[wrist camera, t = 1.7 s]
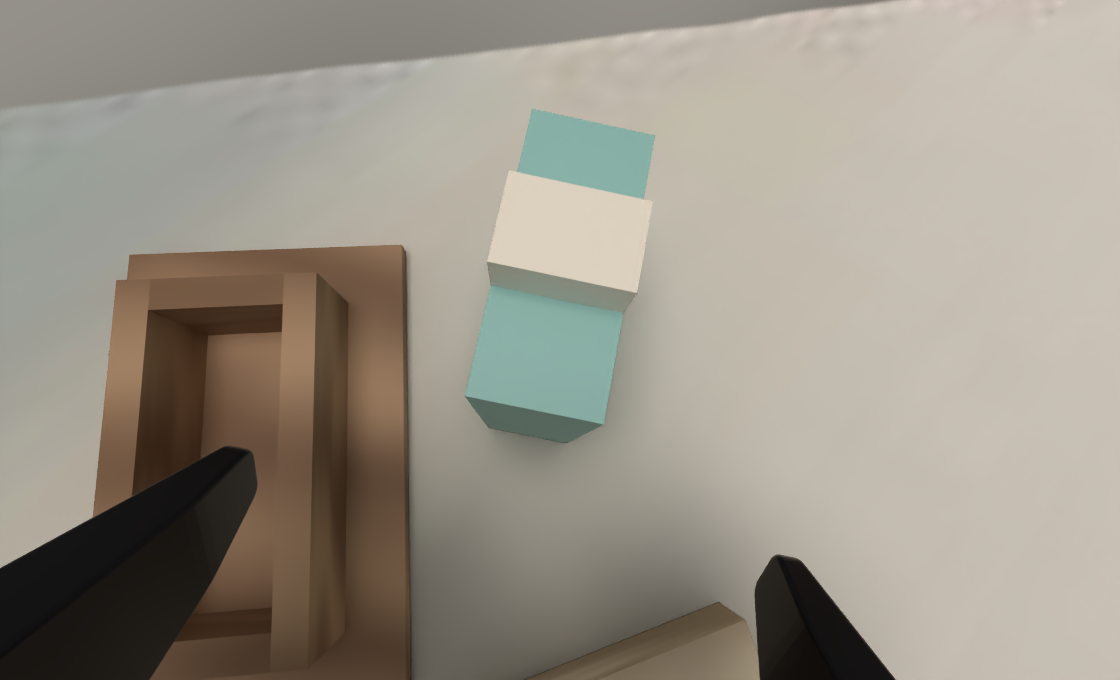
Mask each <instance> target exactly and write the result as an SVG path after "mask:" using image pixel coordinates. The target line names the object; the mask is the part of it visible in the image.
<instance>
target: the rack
mask: <svg viewBox="0 0 1120 680" xmlns="http://www.w3.org/2000/svg"><path fill="white" fill-rule="evenodd" d="M224 446H235V447H240V448H245V449H249V450H251V451H252V453H253V455H254V460H255V467H256V474H257V481H258V486H257V491H256V494H255V497H254V499H253V501H252V503H251V505H250V507H249V509H248V511H247V513H246V515H245V517H244V519H243V521H242V523H241V525H240V527H239V529H238V531H237V533H236V535H235V537H234V539H233V541H232V543H231V545H230V547H229V549H228V551H227V553H226V555H225V557H224V559H223V561H222V563H221V565H220V567H219V569H218V571H217V573H216V575H215V577H214V579H213V581H212V582H211V584H210V586H209V587H208V589H207V591H206V592H205V594H204V596H203V597H202V599H201V600H200V602H199V603H198V605H197V607H196V608H195V610H194V611H193V613H192V614H191V616H190V618H189V619H188V621H187V622H186V624H185V625H184V627H183V629H182V630H181V632H180V633H179V635H178V636H177V638H176V639H175V641H174V643H173V644H172V646H171V647H170V649H169V650H168V652H167V654H166V655H165V657H164V658H163V660H162V661H161V663H160V665H159V666H158V668H157V669H156V671H155V672H154V674H153V676H152V677H151V679H150V680H411V652H410V566H409V480H408V394H407V308H406V252H405V250H404V248H403V246H402V245H383V246H356V247H329V248H302V249H275V250H248V251H221V252H194V253H166V254H139V255H130V256H129V266H128V277H127V280H117V281H116V291H115V301H114V311H113V321H112V331H111V341H110V351H109V361H108V371H107V381H106V391H105V401H104V411H103V421H102V431H101V441H100V451H99V461H98V471H97V481H96V491H95V501H94V511H93V517H95V516H97V515H99V514H100V513H102V512H104V511H106V510H108V509H110V508H111V507H113V506H115V505H117V504H119V503H121V502H122V501H124V500H126V499H128V498H130V497H132V496H133V495H135V494H137V493H139V492H141V491H143V490H144V489H146V488H148V487H150V486H152V485H154V484H155V483H157V482H159V481H161V480H163V479H165V478H166V477H168V476H170V475H172V474H174V473H176V472H177V471H179V470H181V469H183V468H185V467H187V466H188V465H190V464H192V463H194V462H196V461H198V460H199V459H201V458H203V457H205V456H207V455H209V454H210V453H212V452H214V451H216V450H218V449H220V448H222V447H224Z"/></svg>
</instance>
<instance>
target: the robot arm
mask: <svg viewBox="0 0 1120 680" xmlns="http://www.w3.org/2000/svg"><path fill="white" fill-rule="evenodd" d="M257 486H258V481H257V474H256V467H255V460H254V455H253V453H252V451H251V450H249V449H245V448H240V447H235V446H224V447H222V448H220V449H218V450H216V451H214V452H212V453H210V454H209V455H207V456H205V457H203V458H201V459H199V460H198V461H196V462H194V463H192V464H190V465H188V466H187V467H185V468H183V469H181V470H179V471H177V472H176V473H174V474H172V475H170V476H168V477H166V478H165V479H163V480H161V481H159V482H157V483H155V484H154V485H152V486H150V487H148V488H146V489H144V490H143V491H141V492H139V493H137V494H135V495H133V496H132V497H130V498H128V499H126V500H124V501H122V502H121V503H119V504H117V505H115V506H113V507H111V508H110V509H108V510H106V511H104V512H102V513H100V514H99V515H97V516H95V517H93V518H91V519H89V520H88V521H86V522H84V523H82V524H80V525H78V526H77V527H75V528H73V529H71V530H69V531H67V532H66V533H64V534H62V535H60V536H58V537H56V538H55V539H53V540H51V541H49V542H47V543H45V544H44V545H42V546H40V547H38V548H36V549H34V550H33V551H31V552H29V553H27V554H25V555H23V556H22V557H20V558H18V559H16V560H14V561H12V562H11V563H9V564H7V565H5V566H3V567H1V568H0V680H150V679H151V677H152V676H153V674H154V672H155V671H156V669H157V668H158V666H159V665H160V663H161V661H162V660H163V658H164V657H165V655H166V654H167V652H168V650H169V649H170V647H171V646H172V644H173V643H174V641H175V639H176V638H177V636H178V635H179V633H180V632H181V630H182V629H183V627H184V625H185V624H186V622H187V621H188V619H189V618H190V616H191V614H192V613H193V611H194V610H195V608H196V607H197V605H198V603H199V602H200V600H201V599H202V597H203V596H204V594H205V592H206V591H207V589H208V587H209V586H210V584H211V582H212V581H213V579H214V577H215V575H216V573H217V571H218V569H219V567H220V565H221V563H222V561H223V559H224V557H225V555H226V553H227V551H228V549H229V547H230V545H231V543H232V541H233V539H234V537H235V535H236V533H237V531H238V529H239V527H240V525H241V523H242V521H243V519H244V517H245V515H246V513H247V511H248V509H249V507H250V505H251V503H252V501H253V499H254V497H255V494H256V491H257ZM755 611H756V627H757V644H758V661H759V676H760V680H896V679H895V678H894V677H893V676H892V674H891V673H890V672H889V671H888V669H887V668H886V667H885V666H884V664H883V663H882V662H881V660H880V659H879V658H878V657H877V655H876V654H875V653H874V652H873V650H872V649H871V648H870V647H869V645H868V644H867V643H866V642H865V640H864V639H863V638H862V637H861V635H860V634H859V633H858V631H857V630H856V629H855V628H854V626H853V625H852V624H851V623H850V621H849V620H848V619H847V618H846V616H845V615H844V614H843V613H842V611H841V610H840V609H839V608H838V606H837V605H836V604H835V602H834V601H833V600H832V599H831V597H830V596H829V595H828V594H827V592H826V591H825V590H824V589H823V587H822V586H821V585H820V584H819V582H818V581H817V580H816V579H815V577H814V576H813V575H812V573H811V572H810V571H809V570H808V568H807V567H806V566H805V565H804V563H803V562H802V561H800V560H799V559H797V558H794V557H789V556H784V555H775V556H773V557H772V558H771V560H770V561H769V563H768V565H767V566H766V568H765V569H764V571H763V573H762V574H761V576H760V578H759V579H758V581H757V583H756V587H755Z"/></svg>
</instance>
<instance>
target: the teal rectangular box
mask: <svg viewBox="0 0 1120 680" xmlns="http://www.w3.org/2000/svg"><path fill="white" fill-rule="evenodd" d="M654 138H655V135H650V134H646V133H641V132H636V131H632V130H627V129H623V128H618V127H613V126H609V125H604V124H600V123H595V122H591V121H586V120H581V119H577V118H572V117H568V116H563V115H558V114H554V113H549V112H545V111H540V110H535V109H532V112H531V116H530V120H529V124H528V129H527V133H526V137H525V141H524V146H523V150H522V154H521V158H520V163H519V167H518V171H517V172H514V171H510V170H509V172H508V176H507V180H506V184H505V189H504V193H503V197H502V201H501V205H500V209H499V214H498V218H497V222H496V226H495V230H494V235H493V239H492V243H491V247H490V251H489V255H488V260H487V264H488V271H489V277H490V284H491V286H490V290H489V295H488V299H487V303H486V307H485V312H484V316H483V320H482V324H481V329H480V333H479V337H478V341H477V346H476V350H475V354H474V358H473V363H472V367H471V371H470V375H469V380H468V384H467V388H466V392H465V397H466V398H467V400H468V401H469V402H470V404H471V405H472V406H473V408H474V409H475V410H476V412H477V413H478V414H479V416H480V417H481V418H482V419H483V421H484V422H485V423H486V425H487V426H488V427H489V428H493V429H498V430H503V431H508V432H513V433H518V434H522V435H527V436H532V437H537V438H542V439H547V440H552V441H557V442H562V443H567V442H569V441H571V440H573V439H575V438H577V437H579V436H581V435H583V434H585V433H587V432H589V431H591V430H593V429H595V428H597V427H599V426H601V425H603V424H604V420H605V414H606V409H607V403H608V397H609V392H610V386H611V381H612V375H613V369H614V364H615V358H616V352H617V347H618V341H619V335H620V330H621V324H622V318H623V313H624V311H625V310H626V309H627V307H628V306H629V304H630V303H631V301H632V300H633V298H634V297H635V295H636V294H637V291H638V285H639V279H640V273H641V267H642V262H643V256H644V250H645V244H646V239H647V233H648V227H649V221H650V215H651V210H652V204H653V201H649V200H645V199H644V194H645V189H646V183H647V177H648V172H649V166H650V160H651V155H652V149H653V144H654Z"/></svg>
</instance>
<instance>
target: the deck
mask: <svg viewBox="0 0 1120 680" xmlns="http://www.w3.org/2000/svg"><path fill="white" fill-rule="evenodd" d="M526 680H760V676H759V661H758V653H757V651H756V648H755V645H754V643H753V640H752V637H751V635H750V632H749V629H748V627H747V624H746V621H745V620H744V619H743V618H742V617H740V616H739V615H737V614H736V613H734V612H733V611H731V610H730V609H728V608H727V607H725V606H724V605H722V604H721V603H719V602H718V603H715V604H713V605H710V606H708V607H705V608H703V609H700V610H698V611H695V612H693V613H690V614H688V615H685V616H683V617H680V618H678V619H675V620H673V621H670V622H668V623H665V624H663V625H660V626H658V627H655V628H653V629H650V630H648V631H645V632H643V633H640V634H638V635H635V636H633V637H630V638H628V639H625V640H623V641H620V642H618V643H615V644H613V645H610V646H608V647H605V648H603V649H600V650H598V651H595V652H593V653H590V654H588V655H585V656H583V657H580V658H578V659H575V660H573V661H570V662H568V663H565V664H563V665H560V666H558V667H555V668H553V669H551V670H548V671H546V672H543V673H541V674H538V675H536V676H533V677H531V678H528V679H526Z"/></svg>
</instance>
